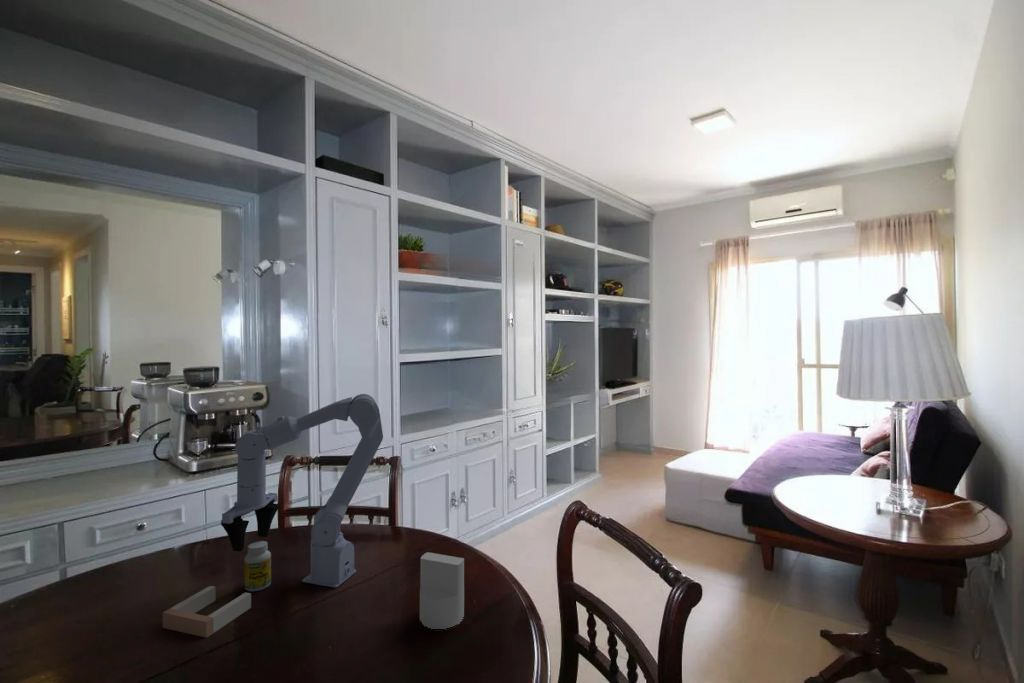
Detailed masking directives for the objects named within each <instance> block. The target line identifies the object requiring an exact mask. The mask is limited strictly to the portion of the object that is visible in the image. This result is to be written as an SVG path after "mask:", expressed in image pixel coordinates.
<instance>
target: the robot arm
mask: <svg viewBox="0 0 1024 683" xmlns="http://www.w3.org/2000/svg"><path fill="white" fill-rule="evenodd" d="M349 418H350V420H351V422H352V423H353V424H354V425H355V426H357V429H358V431H359V433H360V436H361V439H360V440H359V442H358V444H357V446H356V448H355V450H354V451H353V453H352V456H351V458H350V459H349V461H348V463H347V466H346V467H345V469H344V471H343V473H342V475H341V477H340V478H339V480H338V482H337V483H336V485H335V488H334V489H333V491H332V492H331V495H330V496H329V498H328V499H327V501H326V503H325V504H323V506H322V507H320V509H318V510H317V512H316V513H315V516H314V522H313V524H312V525H313V526H312V527H311V530H310V536H311V538H310V573H309V574H308V575H307V576H305V577H303V579H302V581H301V582H302V583H306V584H312V585H318V586H324V587H330V588H338V587H339V586H340V585H343V583H344V582H346V581H347V580H348V579H349V578H351V576H353V575H354V574H355V573H357V570H356V569H355V546H354V544H353V542H351V541H349V540H346V539H345V538H344V533H343V532H342V530H341V525H342V522H343V520H344V518H345V515H346V512H347V509H348V507H349V506H350V505H349V504H350V503H351V501H352V500H353V498H354V495H355V494H356V492H357V490H358V488H359V486H360V484H361V482H362V480H363V479H364V476H365V474H366V472H367V471H368V469H369V467H370V465H371V463H372V461H373V460H374V457H375V455H376V453H377V451H378V450H379V448H380V445H381V444H382V441H383V438H384V434H383V425H382V419H381V411H380V407H379V406H378V404H377V402H376V400H375V399H374V398H373V396H371V395H369V394H367V393H360V394H357V395H356V396H354V397H352V396H350V397H347V398H344V399H341V400H337V401H335V402H332V403H330V404H328V405H325V406H324V407H322V408H321V407H320V408H318V409H316V410H314V411H312V412H310V413H307V414H305V415H303V416H301V417H298V418H297V417H293V416H290V415H287V416H284V415H281V416H278V417H277V418H276V420H275V421H273V422H271V423H268V424H266V425H263V426H262V425H261V424H259V425H258V426H255V429H249V430H247V431H246V432H245V433H244V434H242V435H240V436H239V438H238V439H237V440H236V442H235V444H234V451H235V454H236V455H237V466H236V467H237V469H236V472H237V476H236V477H237V478H236V484H237V485H236V491H237V492H236V501H235V502H233V506H232V507H231V508H230V509H228V510H227V511H226V512H224V513H222V514H221V520H220V525H221V527H222V528H223V529H224V531H225V532H226V534H227V536H228V538H229V541H230V544H231V545H230V546H231V548H232V550H233V552H243V550H244V547H245V538H246V537H245V536H246V531H247V528H248V525H249V523H250V521H249V520H247V519H246V520H244V518H242V517H243V516H246V515H248V514H250V513H252V512H254V513H255V518H256V523H257V524H256V526H257V529H256V530H257V536H258V537H260V538H267V537H269V534H270V531H271V530H270V529H271V527H272V523H273V520H274V518H275V515H276V513H277V512H278V510H279V508H280V504H278V503H276V502H278V493H277V492H269V493H266V487H267V484H266V483H267V482H266V481H267V480H266V478H267V477H266V476H267V475H266V474H267V472H266V471H267V463H266V462H267V461H266V451H271V450H274V449H276V448H279V447H281V446H283V445H285V444H288V443H291V442H293V441H295V440H298V439H299V438H300V436H301V433H302V432H303V431H307V430H309V429H311V428H314V427H317V426H320V425H323V424H325V423H328V422H330V421H333V420H338V421H339V420H340V421H344V422H348V421H349Z"/></svg>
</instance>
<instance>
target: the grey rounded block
mask: <svg viewBox="0 0 1024 683" xmlns="http://www.w3.org/2000/svg"><path fill="white" fill-rule="evenodd" d="M419 568H420V571H419V572H420V576H419V577H420V578H419V581H420V582H419V584H420V588H419V622H420V621H421V622H422V624H423V625H424V626H423V625H422V624H421V625H422V626H423V627H425V626H426V627H428V628H427V629H429V628H431V629H430V630H432V629H445V630H447V629H446V628H450V627H453V626H455V625H457V624H458V625H459V624H461V623H462V622H463V620H464V618H465V558H464V557H458V556H452V555H446V554H440V553H435V552H425V553H424V554H422V555H421V557H420V567H419ZM463 617H464V618H463ZM462 619H463V620H462ZM461 621H462V622H461ZM421 622H420V623H421ZM460 622H461V623H460ZM458 625H457V626H458ZM426 627H425V628H426ZM455 627H456V626H455ZM453 628H454V627H453ZM450 629H451V628H450Z"/></svg>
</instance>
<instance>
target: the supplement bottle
mask: <svg viewBox="0 0 1024 683" xmlns="http://www.w3.org/2000/svg"><path fill="white" fill-rule="evenodd" d="M271 583H272V552H270V550H268V542H267V541H264V540H261V541H260V540H258V541H254V542H251V543H249V544H248V545H247V554H246V555H245V556H244V589H245V590H246V591H247V592H258V591H262V590H264V589H266V588H268V587H269V586H270V585H271Z"/></svg>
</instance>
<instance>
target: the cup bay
mask: <svg viewBox="0 0 1024 683" xmlns="http://www.w3.org/2000/svg"><path fill="white" fill-rule="evenodd" d="M216 591H217V590H216V586H213V585H209V586H207V587H205V588H204V589H202V590H200V591H199V592H197V593H195V594H193V595H191V596H190V597H188V598H186V599H184V600H183V601H181V602H179V603H177V604H175V605H174V606H172V607H170V608H168V609H166V610H164V611H163V612H162V629H166V630H171V631H176V632H180V633H184V634H188V635H194V636H197V637H201V638H209V637H210V636H211V635H213V634H215V633H216V632H218V631H219V630H221V629H222V628H223V627H225V626H226V625H228V624H229V623H230V622H232V621H233V620H235V619H237V618H238V617H240V616H241V615H242V614H244V613H245V612H247V611H249V609H252V593H250V592H246V591H245V592H243V593H242V594H241V595H239V596H237V597H236V598H234V599H233V600H231V601H230V602H228V603H226V604H225V605H223V606H221V607H220V608H218V609H217V610H215V611H213V612H212V613H210V614H209V615H204V614H203V615H202V614H199V613H197V612H200V611H201V610H202V609H204V608H206V607H207V606H209V605H210V604H212V603H214V602H216V601H217V600H216V598H217V597H216V594H217V592H216Z"/></svg>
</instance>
